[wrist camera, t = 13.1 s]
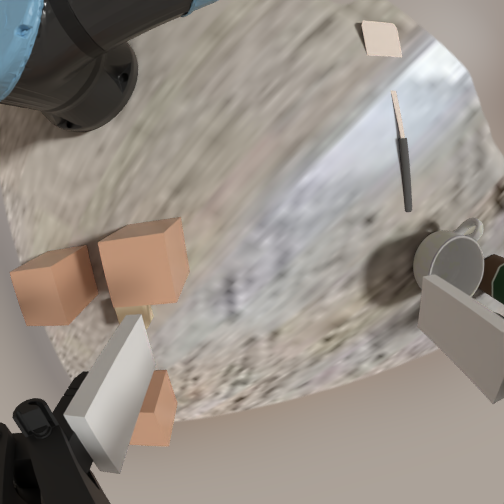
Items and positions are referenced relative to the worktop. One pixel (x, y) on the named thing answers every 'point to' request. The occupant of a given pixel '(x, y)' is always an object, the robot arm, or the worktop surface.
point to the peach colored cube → (55, 286)
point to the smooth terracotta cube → (145, 263)
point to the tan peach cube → (156, 413)
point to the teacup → (452, 257)
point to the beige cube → (133, 310)
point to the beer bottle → (493, 277)
